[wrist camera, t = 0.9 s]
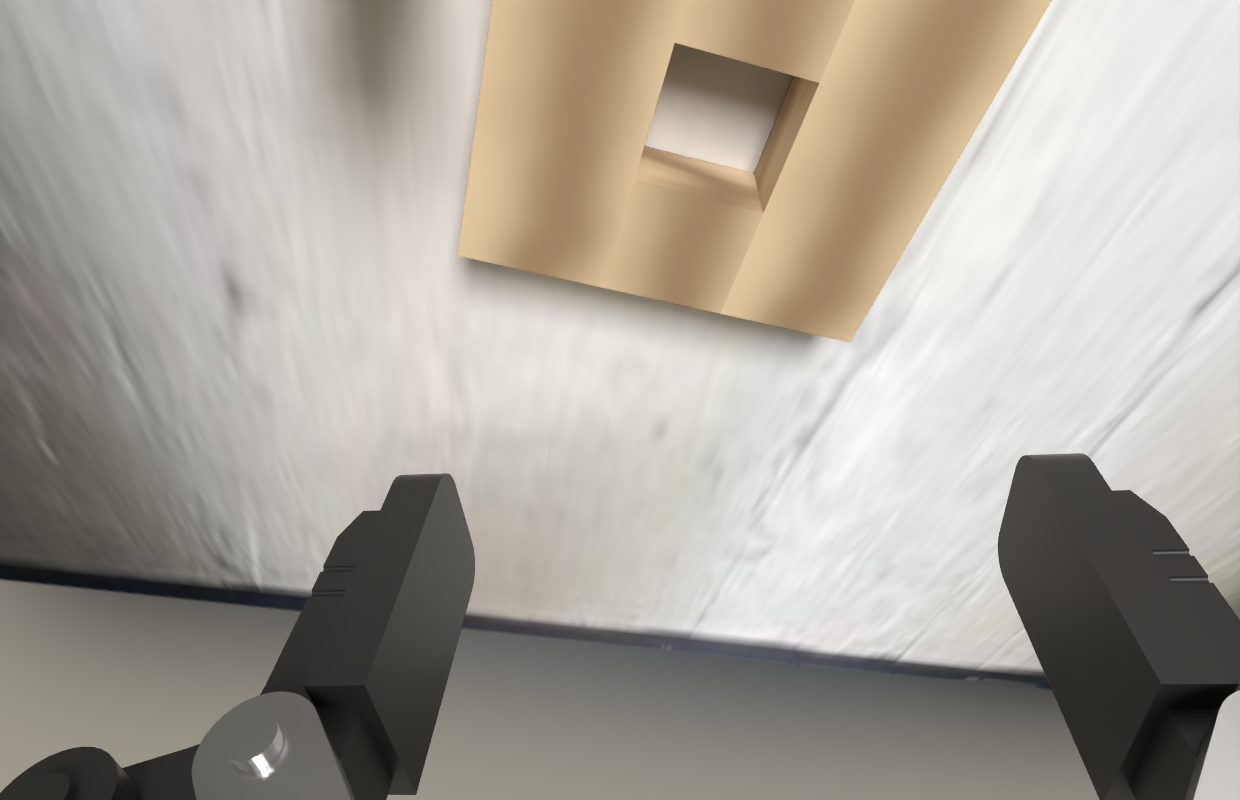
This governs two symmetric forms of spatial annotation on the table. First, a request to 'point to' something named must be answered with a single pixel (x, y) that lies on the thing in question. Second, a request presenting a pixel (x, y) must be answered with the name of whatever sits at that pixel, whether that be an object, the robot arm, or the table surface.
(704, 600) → the table surface
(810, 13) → the board
